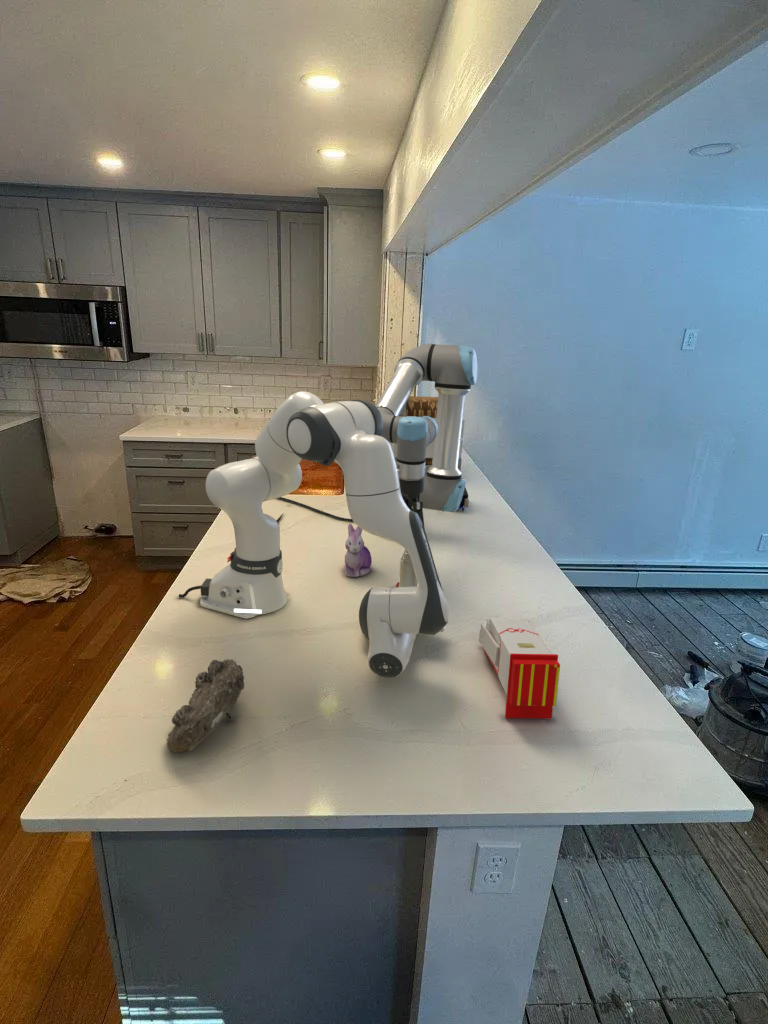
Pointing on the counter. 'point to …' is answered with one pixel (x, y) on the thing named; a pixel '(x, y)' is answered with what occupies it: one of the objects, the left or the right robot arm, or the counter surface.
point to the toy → (522, 666)
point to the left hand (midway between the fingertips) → (407, 598)
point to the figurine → (356, 554)
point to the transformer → (425, 408)
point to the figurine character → (464, 500)
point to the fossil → (206, 705)
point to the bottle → (407, 572)
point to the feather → (279, 518)
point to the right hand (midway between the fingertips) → (406, 550)
